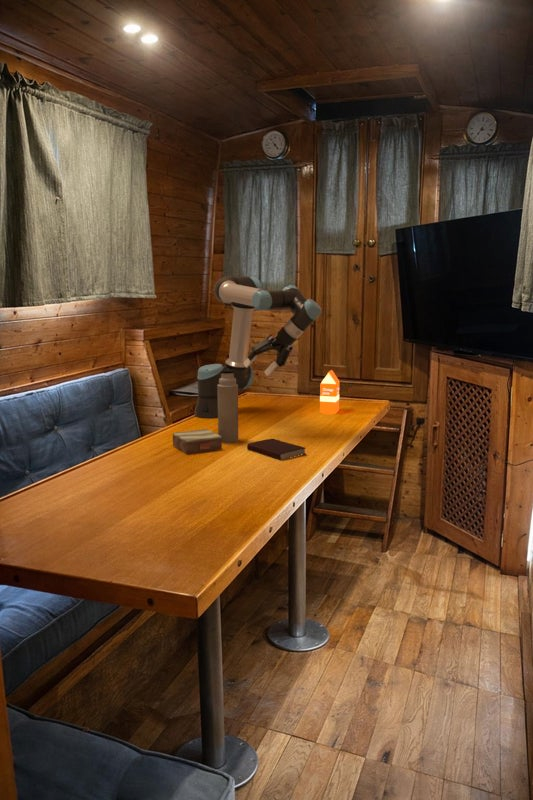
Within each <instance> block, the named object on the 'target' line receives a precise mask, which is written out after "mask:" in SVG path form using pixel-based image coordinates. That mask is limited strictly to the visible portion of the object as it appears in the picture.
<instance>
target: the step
mask: <svg viewBox="0 0 533 800" xmlns="http://www.w3.org/2000/svg"><path fill="white" fill-rule="evenodd" d="M222 444H223V443H222V436H220V435H218V433H215V432H213V431H212V430H210V429H208V428H203V429H195V430H187V431H179V432H172V447H174V448H175V449H178V450H179V451H181V452H182V453H184V454H186V455H191V454H198V453H206V452H213V451H220V450H223V449H222V448H223V445H222Z"/></svg>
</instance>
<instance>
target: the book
mask: <svg viewBox="0 0 533 800" xmlns="http://www.w3.org/2000/svg"><path fill="white" fill-rule="evenodd" d="M246 447H247V450H248V451H252V452H254V453H257V454H259V455H263V456H266V457H270V458H272V459H275V460H277V459H278V461H282V459H283V460H287V459H286V458H289V459H291V458H290V457H293V458H295V457H294V456H298V455H301V454H303V455H302V456H304V454H305V455H306V447H305V446H300V445H297V444H293V443H290V442H287V441H283V440H279V439H275V438H268V439H262V440H257V441H253V442H249V443H247V445H246ZM298 457H299V456H298Z"/></svg>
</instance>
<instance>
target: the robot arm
mask: <svg viewBox="0 0 533 800" xmlns="http://www.w3.org/2000/svg"><path fill="white" fill-rule="evenodd" d="M213 295H214V297H215V298H216V299H217V301H219V302H222V303H227V304H230V305H231V307H232V308H233V314H232V315H233V316H232V324H231V325H232V326H231V334H230V335H231V336H230V345H229V356H228V358H227V359H225V361H224V366H223V364H221V363H213V364H212V363H211V364H206V365H203V366H200V367H199V368H198V370H197V402H196V404H195V408H194V416H195V415H196V416H195V417H198V418H201V419H203V418H204V419H215V418H217V419H218V389H217V385H218V384H219V379H220V378H221V374H222V373H221V371H222V370H233V371H234V373H233V374H234V378H235V379H236V384H238V391H242V390H246V389H248V388H250V387H251V385H252V384H253V381H254V377H255V375H254V370H253V367H252V366H251V365H252V364H253V362H254V361H255V360H256V359H257V358H258V355H261V354H264V353H266V352H268V351H272V350H273V351H276V352H277V353H276V360H273V362H271V364H270V365H269V366H268V367H267V368H266V369H265V370H264V374H265V376H266V377H269V376H271V374H272V373H273V372H274V371H275V370H276V369H278V367H280V368H281V367H282V366H285V365H286V364H287V360H288V358H289V356H290V354H291V352H292V351H293V349H294V348H293V346H292V345H293V344H294V343H295V342H296V341H297V339H299V337H300V336H302V335H303V333H304V332H306V330H307V329H308V328H309V327H310V326H311V325H312V324H313V323H314V322H315V321H316V320H318V318H319V316H320V315H321V313H322V311H323V310H322V308H321V306H320V305H319V304H318V303H317V302H316V301H315V300H313V299H311V298H308V299H307V298H306V297H305V295H303V293H302V291H301V290H300V289H299V288H298V287H297V286H296V285H294V284H289V285H287V286H285V287H283V288H282V290H268V289H264V288H263V285H262V282H261V281H260V280H259V278H257V277H255V276H248V275H247V276H245V275H244V276H224V277H221V278H219V279H218V280H217V281H216V283H215V284H214V286H213ZM255 310H256V311H273V310H274V311H276V310H277V311H279V310H290V311H291V313H292V314H293V315H291V317H290V318H289V319H288V321H286V323H285V324H284V325H283V326H282V327H281V328H280V330H279V331H277V334H276V336H275V337H274V336H273V335H272V334H270V335H269V336H267V337H266V338H265V339H263V340H261V341H260V342H257V344H255V345H252V346H251V347H250V340H251V339H250V337H251V331H252V330H251V327H252V320H253V311H255ZM249 347H250V350H251V351H252V352H251V353H250V354H249Z"/></svg>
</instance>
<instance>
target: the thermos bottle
mask: <svg viewBox="0 0 533 800" xmlns="http://www.w3.org/2000/svg"><path fill="white" fill-rule="evenodd" d="M221 373H222V374H221V378H220V379H219V384H218V385H217V389H218V418H217V419H218V420H217V434H218V435H220V436H222V444H233V443H237V442H238V441H239V390H238V384H236V379H235V378H234V374H233V373H234V371H233V370H222V371H221Z"/></svg>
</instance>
